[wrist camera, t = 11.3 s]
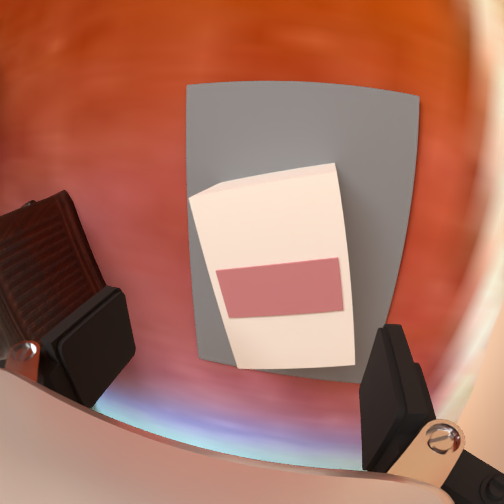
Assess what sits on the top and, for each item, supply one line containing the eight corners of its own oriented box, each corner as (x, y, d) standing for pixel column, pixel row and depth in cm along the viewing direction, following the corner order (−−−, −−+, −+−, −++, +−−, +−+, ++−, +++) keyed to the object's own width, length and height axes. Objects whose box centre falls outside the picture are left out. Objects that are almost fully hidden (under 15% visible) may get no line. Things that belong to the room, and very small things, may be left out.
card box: (334, 162, 14) (336, 172, 10) (352, 319, 17) (355, 366, 13) (220, 182, 16) (187, 198, 12) (255, 326, 19) (237, 369, 15)
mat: (365, 379, 19) (365, 383, 19) (200, 355, 22) (198, 358, 21) (417, 97, 12) (419, 96, 12) (189, 86, 15) (186, 85, 14)
